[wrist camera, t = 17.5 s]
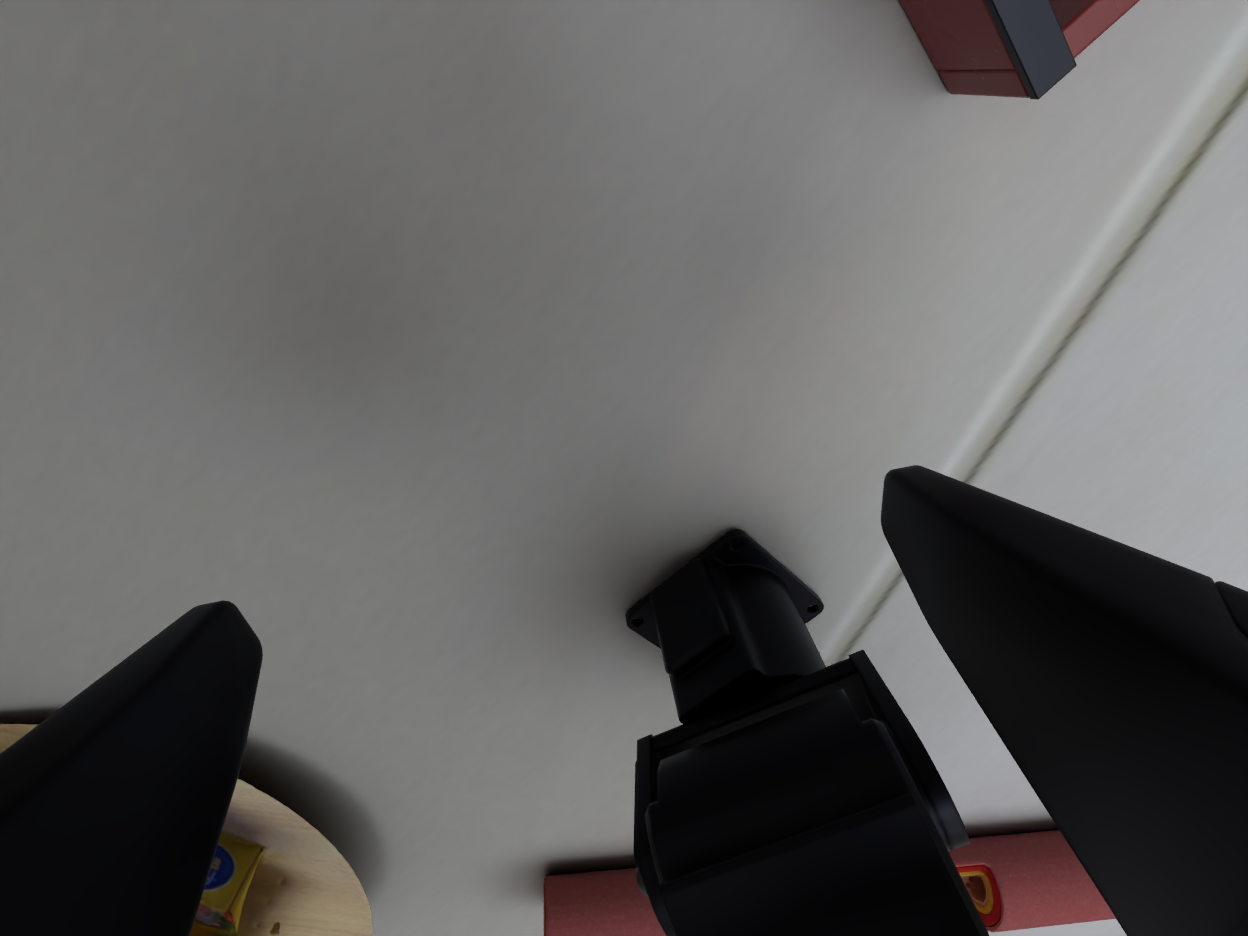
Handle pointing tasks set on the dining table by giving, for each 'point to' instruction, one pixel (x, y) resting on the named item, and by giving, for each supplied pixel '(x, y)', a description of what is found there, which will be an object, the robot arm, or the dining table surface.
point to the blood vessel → (989, 866)
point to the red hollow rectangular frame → (1009, 40)
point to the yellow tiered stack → (270, 872)
